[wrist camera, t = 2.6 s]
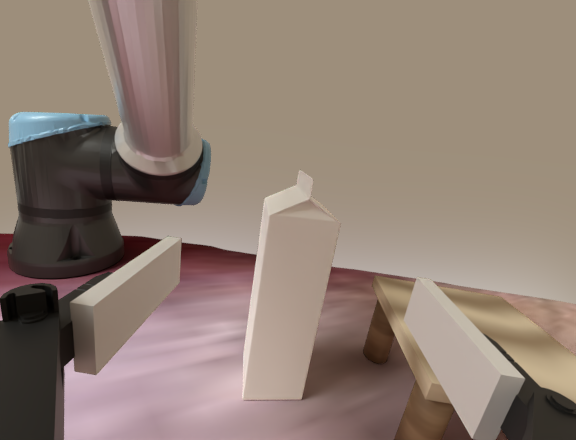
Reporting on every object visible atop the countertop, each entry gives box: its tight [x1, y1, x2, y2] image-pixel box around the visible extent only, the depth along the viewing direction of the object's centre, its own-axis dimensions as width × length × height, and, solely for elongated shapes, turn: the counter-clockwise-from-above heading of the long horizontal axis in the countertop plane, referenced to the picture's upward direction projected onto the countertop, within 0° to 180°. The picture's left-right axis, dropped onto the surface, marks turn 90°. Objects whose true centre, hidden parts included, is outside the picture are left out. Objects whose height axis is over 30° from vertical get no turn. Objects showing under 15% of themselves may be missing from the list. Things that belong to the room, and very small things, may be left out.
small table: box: [363, 276, 576, 440], centre depth 28 cm, size 16×16×10 cm
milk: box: [242, 170, 341, 400], centre depth 27 cm, size 6×6×22 cm
